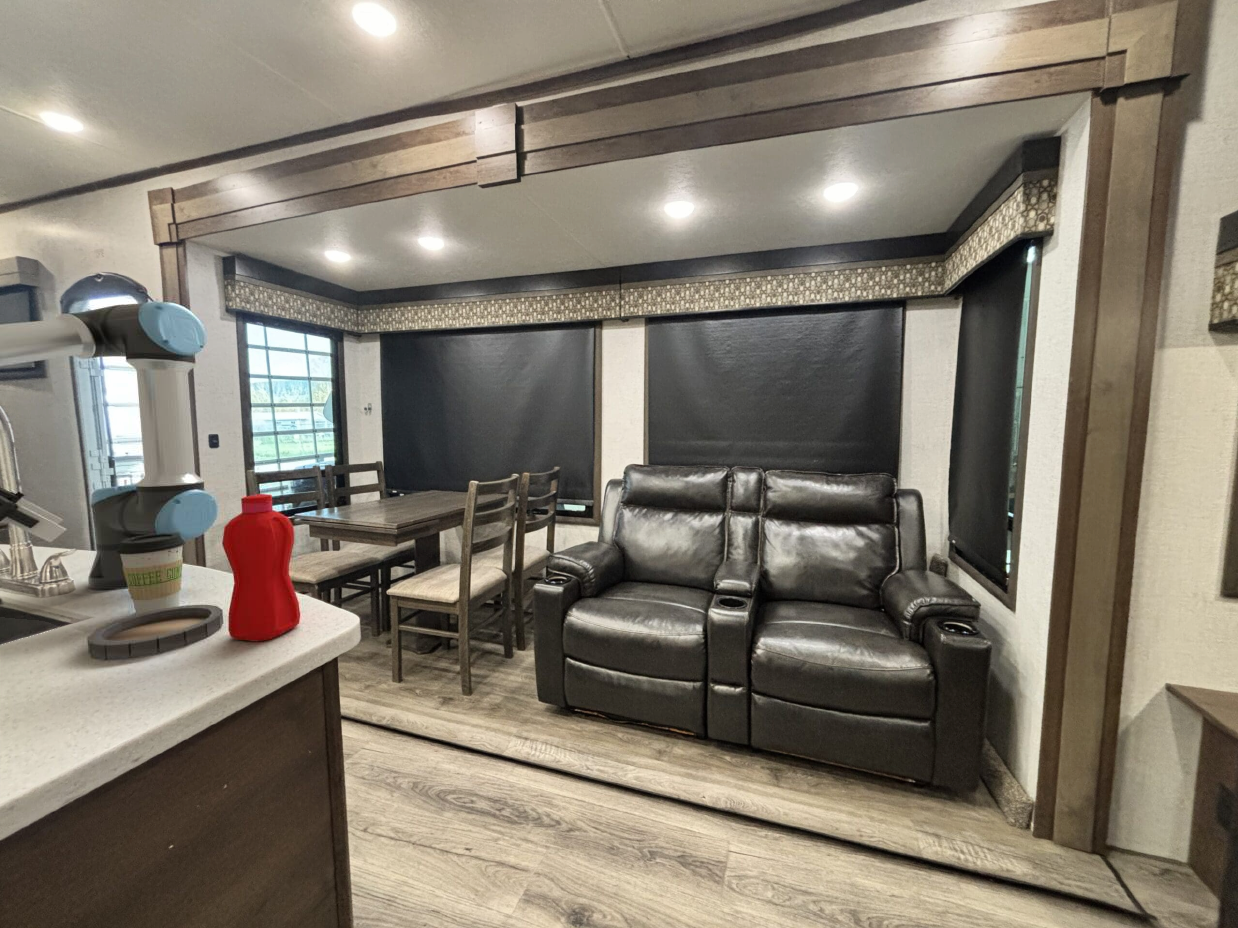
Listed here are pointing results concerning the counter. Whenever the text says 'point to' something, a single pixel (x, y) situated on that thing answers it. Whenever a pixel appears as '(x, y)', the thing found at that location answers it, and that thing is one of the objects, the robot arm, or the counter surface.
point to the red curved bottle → (260, 571)
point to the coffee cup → (153, 570)
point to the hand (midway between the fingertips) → (57, 530)
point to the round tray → (154, 632)
